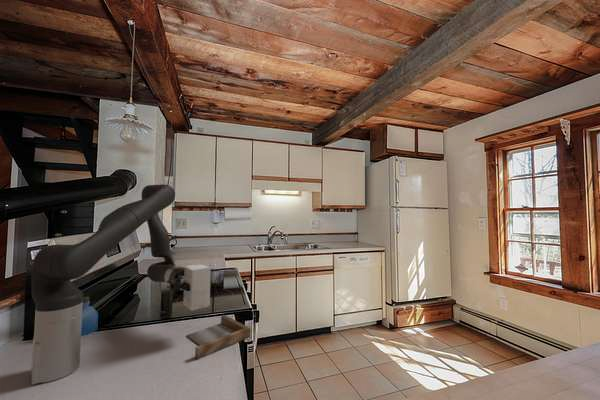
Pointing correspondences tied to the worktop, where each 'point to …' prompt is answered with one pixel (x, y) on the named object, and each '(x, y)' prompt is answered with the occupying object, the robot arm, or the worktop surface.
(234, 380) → the worktop surface
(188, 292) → the small box
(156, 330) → the worktop surface
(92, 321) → the perfume bottle
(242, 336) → the wooden tray
